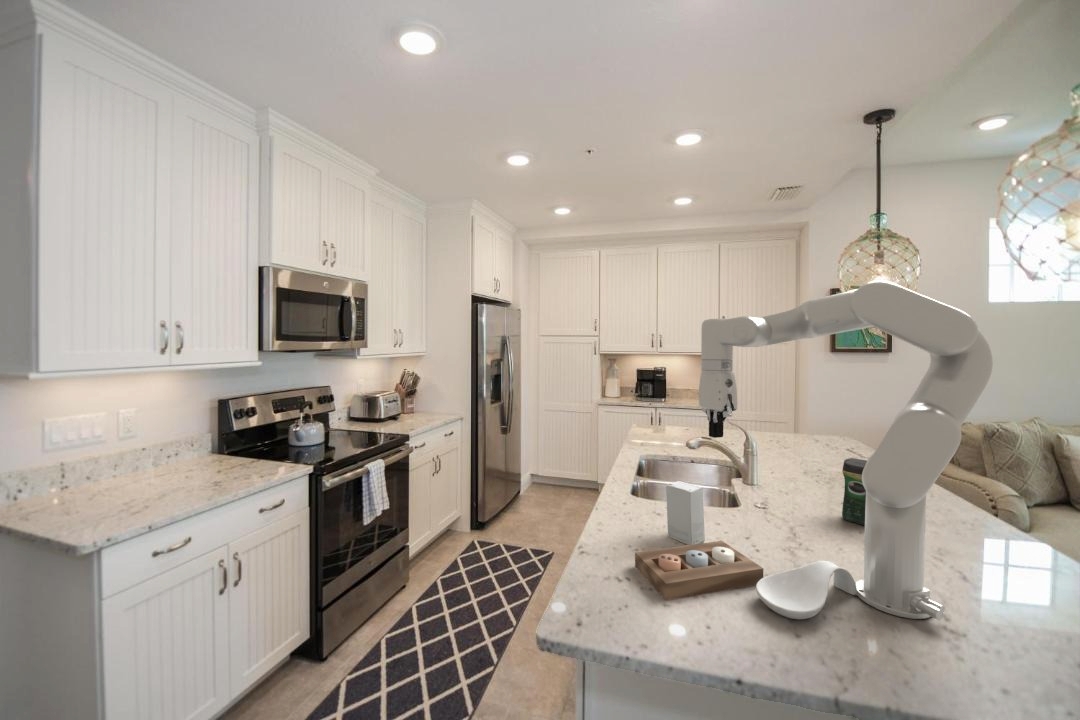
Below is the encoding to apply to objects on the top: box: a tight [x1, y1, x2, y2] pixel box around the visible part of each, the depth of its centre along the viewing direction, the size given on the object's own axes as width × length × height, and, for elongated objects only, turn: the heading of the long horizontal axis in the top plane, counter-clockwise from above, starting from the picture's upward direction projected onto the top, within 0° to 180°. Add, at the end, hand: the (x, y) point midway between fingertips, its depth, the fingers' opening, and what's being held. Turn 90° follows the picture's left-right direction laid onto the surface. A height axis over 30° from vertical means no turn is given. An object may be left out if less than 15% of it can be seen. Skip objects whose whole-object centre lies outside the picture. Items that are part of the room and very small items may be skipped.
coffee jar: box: [841, 457, 868, 526], centre depth 128 cm, size 10×8×19 cm
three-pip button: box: [659, 554, 681, 572], centre depth 97 cm, size 5×5×5 cm
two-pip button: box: [686, 550, 708, 568], centre depth 99 cm, size 5×5×5 cm
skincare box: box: [665, 480, 706, 545], centre depth 117 cm, size 8×6×15 cm
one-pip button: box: [712, 547, 734, 564], centre depth 100 cm, size 5×5×5 cm
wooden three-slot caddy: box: [634, 540, 764, 601], centre depth 99 cm, size 14×24×4 cm, turn 104°
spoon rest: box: [755, 560, 858, 620], centre depth 88 cm, size 24×12×7 cm, turn 114°
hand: (716, 436), depth 112 cm, fingers closed
